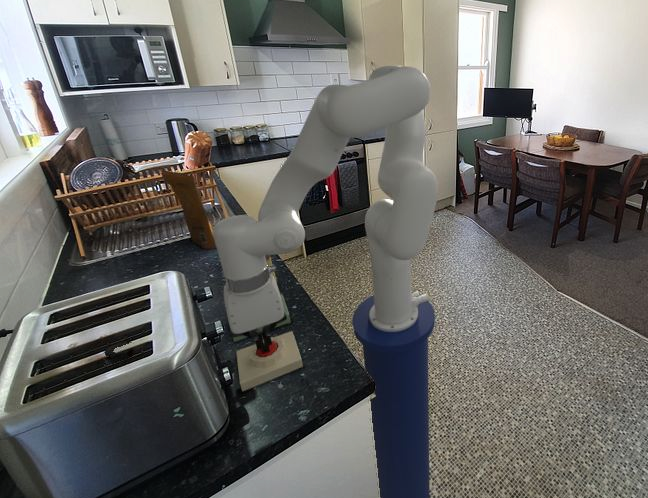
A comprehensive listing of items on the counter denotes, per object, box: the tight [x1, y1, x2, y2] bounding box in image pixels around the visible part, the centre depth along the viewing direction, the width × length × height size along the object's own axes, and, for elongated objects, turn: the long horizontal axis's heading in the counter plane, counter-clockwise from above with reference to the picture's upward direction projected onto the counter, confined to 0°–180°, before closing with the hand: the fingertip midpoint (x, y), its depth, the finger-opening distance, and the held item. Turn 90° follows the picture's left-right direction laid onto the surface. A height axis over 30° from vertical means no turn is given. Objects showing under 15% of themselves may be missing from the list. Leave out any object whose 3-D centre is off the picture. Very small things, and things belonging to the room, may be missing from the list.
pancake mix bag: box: [160, 169, 217, 250], centre depth 122 cm, size 7×19×28 cm, turn 55°
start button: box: [257, 342, 277, 357], centre depth 75 cm, size 4×4×2 cm
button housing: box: [235, 330, 304, 392], centre depth 76 cm, size 12×10×4 cm
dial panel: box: [232, 293, 291, 342], centre depth 89 cm, size 13×10×3 cm
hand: (265, 348), depth 75 cm, fingers closed
